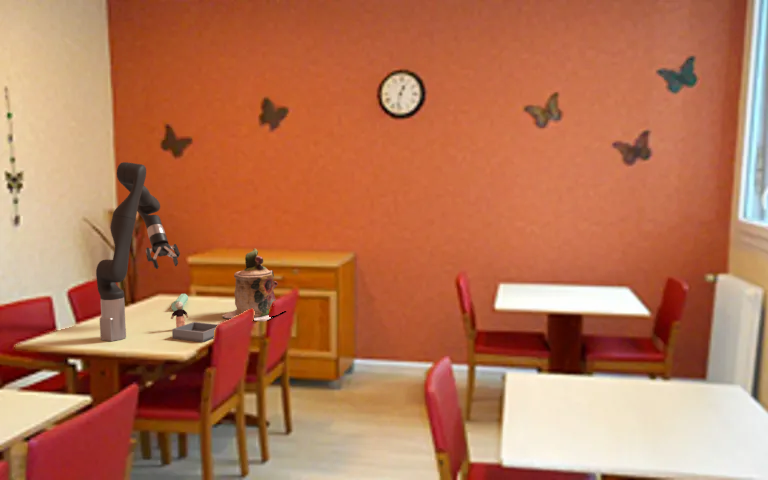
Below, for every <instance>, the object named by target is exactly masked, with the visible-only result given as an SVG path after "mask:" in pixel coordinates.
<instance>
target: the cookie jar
mask: <svg viewBox="0 0 768 480" xmlns="http://www.w3.org/2000/svg"><path fill="white" fill-rule="evenodd" d="M252 249H253V250H252V251H250V252H248V253H246V254H245V258H244V260H245V268H244V269H242V270H240V271H236V272H234V275H233V276H234V279H235V289H234V305H235V308H236V309H234V310H233V311H229V312H226V313H224V314H221V315H222V318H223V319H224V318H225V319H233V318H232V317H234V316H236V315H239V314H241V313H243V312H244V311H246V310H248V309H251V308H253V309H254V311H255V315H254V321H255V322H266V321H268V320H270V319H272V318H271V317H269V315H268V314H269V309H270V306H271V304H272V302H273V301H275V302H276V296H275V292H274V290H275V288H276V287H277V286H278V284H279V283H278V281H276V280H274V277H275V275H274V271H273V270H269V269H268V268H267V267H266V266H263V263H264V258H263V256H260V255H258V253H259V250H258V249H257V248H252Z"/></svg>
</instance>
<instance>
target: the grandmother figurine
mask: <svg viewBox="0 0 768 480" xmlns="http://www.w3.org/2000/svg"><path fill="white" fill-rule="evenodd" d="M175 307H176V308H177V309H178V310H176V311H173V312H172V313H171V316H170V320H174V317H175V325H176V327H175V328H177V327H180V326H183V325H186V321H185V319H186V318H190V316H189V314H188V312H187V311H186V310H185V309H184V306H183V303H182V302H177V303H176V304H175ZM182 307H183V309H182ZM185 317H186V318H185Z"/></svg>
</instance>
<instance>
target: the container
mask: <svg viewBox="0 0 768 480" xmlns="http://www.w3.org/2000/svg"><path fill="white" fill-rule="evenodd" d="M188 301H189V296H188V295H187V294H186V293H181V294H180V295H179V296H178V297H177V298H176V300H175V301H173V302H172V303H171V310H172V311H173V312H174V311H176V310H178V309H177V308H176V307H175V304H176V303H177V302H182V303H183V307H182V309H183V310H184V307H185V305H186V303H187V302H188Z"/></svg>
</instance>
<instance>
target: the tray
mask: <svg viewBox="0 0 768 480" xmlns="http://www.w3.org/2000/svg"><path fill="white" fill-rule="evenodd" d="M217 325H219V324H217V323H210V322H208V323H207V322H199V321H192V322H189V323H187V324H186V323H185V325H183V326H180V327H175V328H171V331H172V332H171V333H172V335H171V336H172V339H174V340H182V341H191V342H198V343H205V342H208V341H211V340H213V339H214V338H213V337H214V330H215V328H216V326H217Z"/></svg>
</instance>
